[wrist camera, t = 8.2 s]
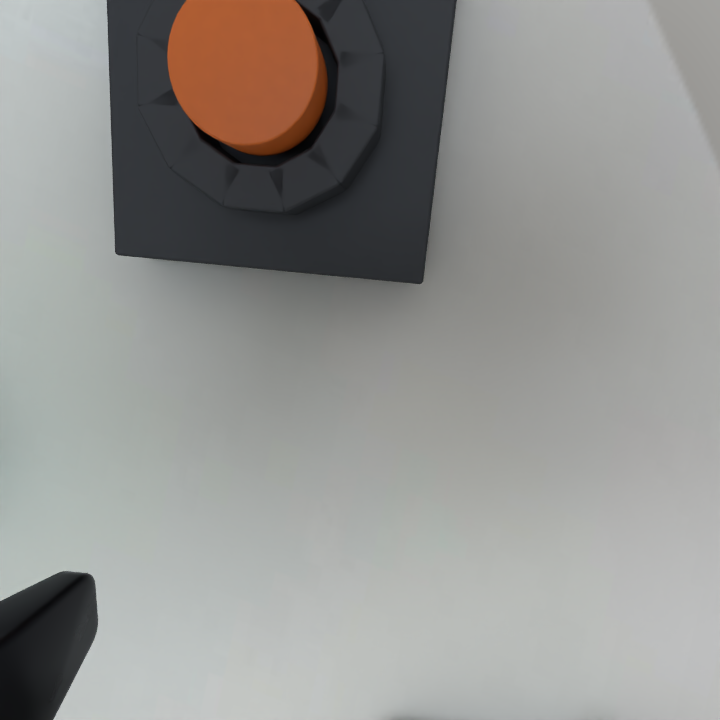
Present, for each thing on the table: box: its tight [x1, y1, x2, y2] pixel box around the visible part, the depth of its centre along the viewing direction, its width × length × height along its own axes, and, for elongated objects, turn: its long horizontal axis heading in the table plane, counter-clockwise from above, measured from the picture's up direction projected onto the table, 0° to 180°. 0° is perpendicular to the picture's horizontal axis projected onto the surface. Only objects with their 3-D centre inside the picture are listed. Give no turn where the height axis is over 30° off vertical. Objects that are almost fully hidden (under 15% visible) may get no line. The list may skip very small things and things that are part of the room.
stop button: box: [167, 0, 328, 156], centre depth 12 cm, size 4×4×2 cm
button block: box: [107, 0, 457, 284], centre depth 15 cm, size 10×10×4 cm
